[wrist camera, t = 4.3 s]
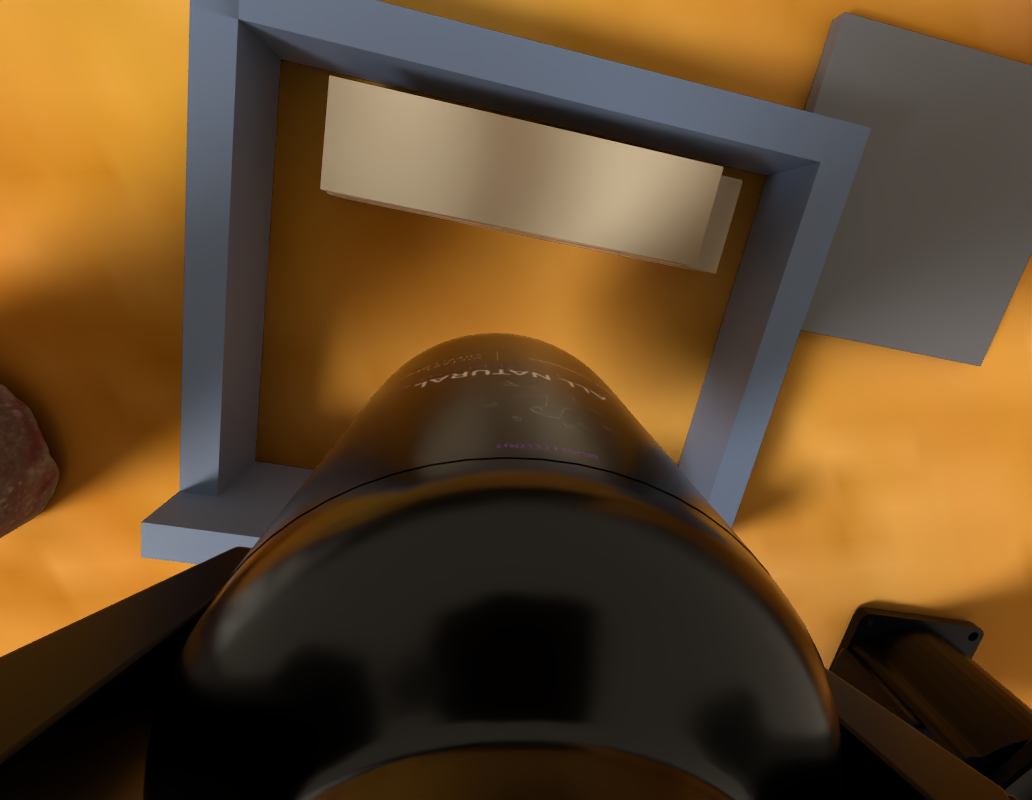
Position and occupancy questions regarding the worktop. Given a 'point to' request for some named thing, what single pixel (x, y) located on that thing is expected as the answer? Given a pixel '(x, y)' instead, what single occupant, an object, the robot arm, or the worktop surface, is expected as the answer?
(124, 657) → the robot arm
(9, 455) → the candle
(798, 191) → the blue-grey rectangular tray
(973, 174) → the mat
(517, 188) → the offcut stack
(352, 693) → the supplement bottle
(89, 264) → the worktop surface
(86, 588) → the worktop surface
